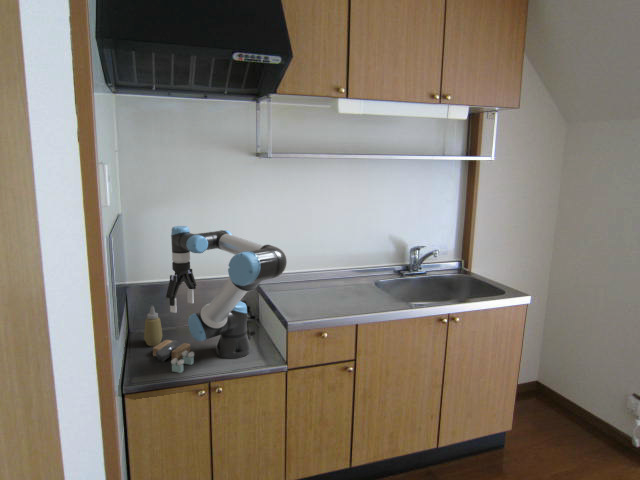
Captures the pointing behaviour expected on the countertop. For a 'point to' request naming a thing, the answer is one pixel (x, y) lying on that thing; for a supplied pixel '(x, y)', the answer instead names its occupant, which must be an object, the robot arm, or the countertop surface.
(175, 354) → the wooden bars with cylinder
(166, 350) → the dark grey rounded block
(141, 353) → the countertop surface
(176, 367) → the cradle
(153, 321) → the squeeze bottle
